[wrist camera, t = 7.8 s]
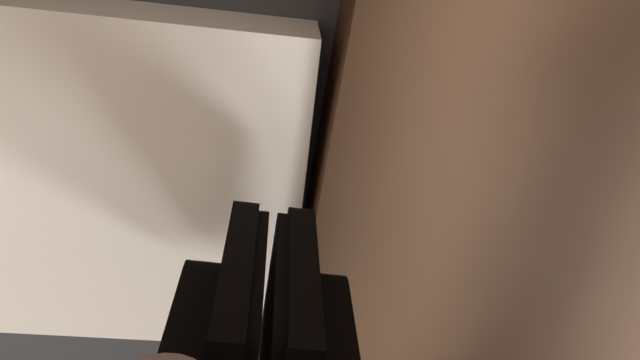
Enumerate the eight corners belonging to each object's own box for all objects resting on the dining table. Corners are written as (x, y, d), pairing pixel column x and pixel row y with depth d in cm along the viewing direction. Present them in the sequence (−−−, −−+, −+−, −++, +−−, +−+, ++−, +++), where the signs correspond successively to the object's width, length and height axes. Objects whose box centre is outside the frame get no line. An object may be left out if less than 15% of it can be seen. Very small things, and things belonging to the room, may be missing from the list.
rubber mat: (374, -210, 11) (376, -214, 10) (268, 416, 19) (267, 426, 18) (-362, -363, 9) (-388, -373, 9) (-140, 387, 17) (-150, 397, 17)
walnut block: (841, -9, 13) (984, 12, 10) (612, 401, 19) (664, 481, 16) (355, -98, 12) (374, -101, 9) (275, 374, 18) (272, 456, 15)
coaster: (317, 20, 12) (321, 40, 11) (286, 298, 16) (285, 347, 14) (-54, -20, 12) (-115, -7, 10) (1, 280, 15) (-38, 330, 13)
